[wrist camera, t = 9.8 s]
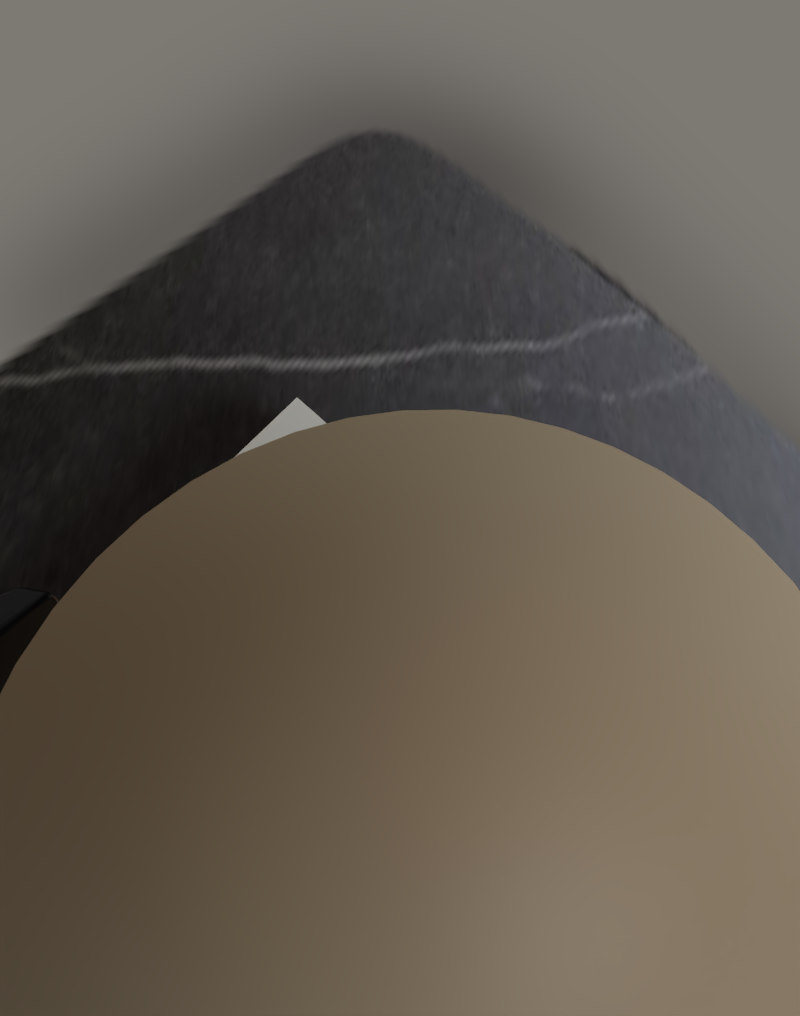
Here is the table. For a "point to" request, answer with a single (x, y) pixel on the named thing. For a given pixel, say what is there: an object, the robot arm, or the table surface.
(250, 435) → the table surface
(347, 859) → the plug
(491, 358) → the table surface
